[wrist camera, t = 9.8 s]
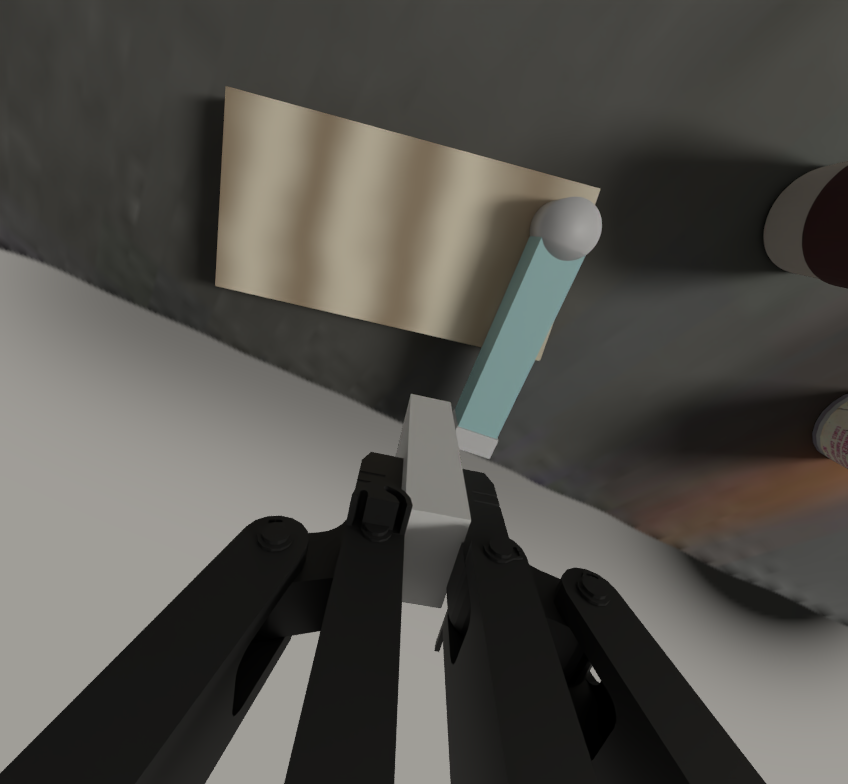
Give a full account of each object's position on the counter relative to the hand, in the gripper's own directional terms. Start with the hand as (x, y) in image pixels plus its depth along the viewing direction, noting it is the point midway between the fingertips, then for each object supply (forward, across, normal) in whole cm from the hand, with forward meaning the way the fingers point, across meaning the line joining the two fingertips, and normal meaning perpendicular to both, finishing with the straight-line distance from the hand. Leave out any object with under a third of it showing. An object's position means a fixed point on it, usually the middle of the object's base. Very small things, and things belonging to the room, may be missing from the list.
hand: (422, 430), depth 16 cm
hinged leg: (+16, -6, -2) cm, 17 cm away
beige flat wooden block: (+19, +3, -6) cm, 20 cm away
